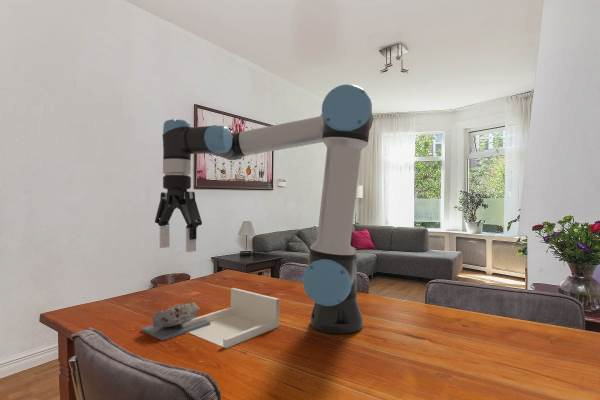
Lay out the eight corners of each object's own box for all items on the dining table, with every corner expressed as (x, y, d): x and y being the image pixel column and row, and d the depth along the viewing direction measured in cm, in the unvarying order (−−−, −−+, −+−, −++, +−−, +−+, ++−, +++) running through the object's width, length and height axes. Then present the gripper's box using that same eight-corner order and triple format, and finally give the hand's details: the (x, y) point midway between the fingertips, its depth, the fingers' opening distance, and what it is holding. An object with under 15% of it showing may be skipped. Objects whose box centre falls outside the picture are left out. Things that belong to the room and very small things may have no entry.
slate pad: (210, 324, 102) (210, 322, 102) (162, 340, 90) (162, 337, 90) (188, 316, 109) (188, 314, 109) (141, 330, 97) (141, 327, 97)
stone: (179, 304, 108) (203, 298, 104) (181, 323, 107) (206, 318, 103) (143, 310, 97) (168, 303, 93) (144, 332, 95) (171, 326, 91)
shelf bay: (279, 327, 101) (279, 298, 101) (226, 349, 86) (226, 315, 86) (233, 313, 113) (233, 287, 113) (180, 330, 98) (180, 301, 98)
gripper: (214, 173, 95) (215, 251, 95) (166, 177, 110) (166, 244, 110) (190, 171, 89) (191, 255, 89) (142, 176, 105) (142, 247, 104)
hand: (177, 249), depth 100 cm, fingers open, 13 cm apart
